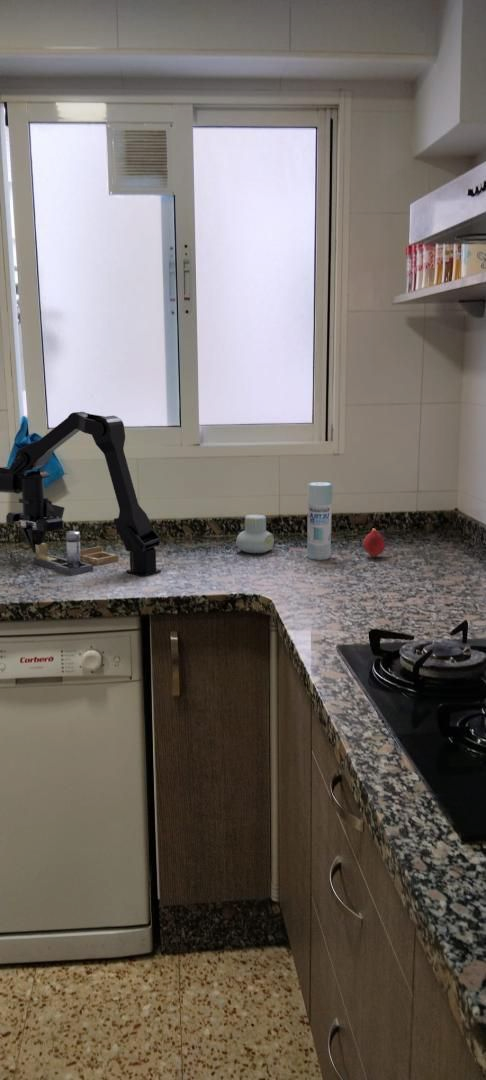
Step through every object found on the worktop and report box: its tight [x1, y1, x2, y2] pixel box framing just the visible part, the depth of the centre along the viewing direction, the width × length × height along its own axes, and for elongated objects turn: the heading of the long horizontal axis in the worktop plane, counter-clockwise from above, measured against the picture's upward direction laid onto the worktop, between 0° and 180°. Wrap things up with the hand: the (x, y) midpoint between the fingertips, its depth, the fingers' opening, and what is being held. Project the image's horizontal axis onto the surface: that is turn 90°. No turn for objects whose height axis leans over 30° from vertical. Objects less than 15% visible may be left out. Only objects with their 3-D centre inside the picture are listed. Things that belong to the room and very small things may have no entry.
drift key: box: [35, 542, 58, 563], centre depth 230 cm, size 7×2×4 cm, turn 46°
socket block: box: [33, 554, 94, 576], centre depth 226 cm, size 18×7×2 cm, turn 46°
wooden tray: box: [80, 545, 119, 566], centre depth 232 cm, size 8×7×3 cm
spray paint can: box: [306, 481, 333, 561], centre depth 235 cm, size 6×6×20 cm
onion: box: [362, 528, 386, 558], centre depth 236 cm, size 6×6×8 cm
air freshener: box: [235, 514, 275, 554], centre depth 243 cm, size 11×8×10 cm
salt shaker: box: [65, 530, 82, 568], centre depth 221 cm, size 4×4×10 cm
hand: (36, 552), depth 233 cm, fingers closed
